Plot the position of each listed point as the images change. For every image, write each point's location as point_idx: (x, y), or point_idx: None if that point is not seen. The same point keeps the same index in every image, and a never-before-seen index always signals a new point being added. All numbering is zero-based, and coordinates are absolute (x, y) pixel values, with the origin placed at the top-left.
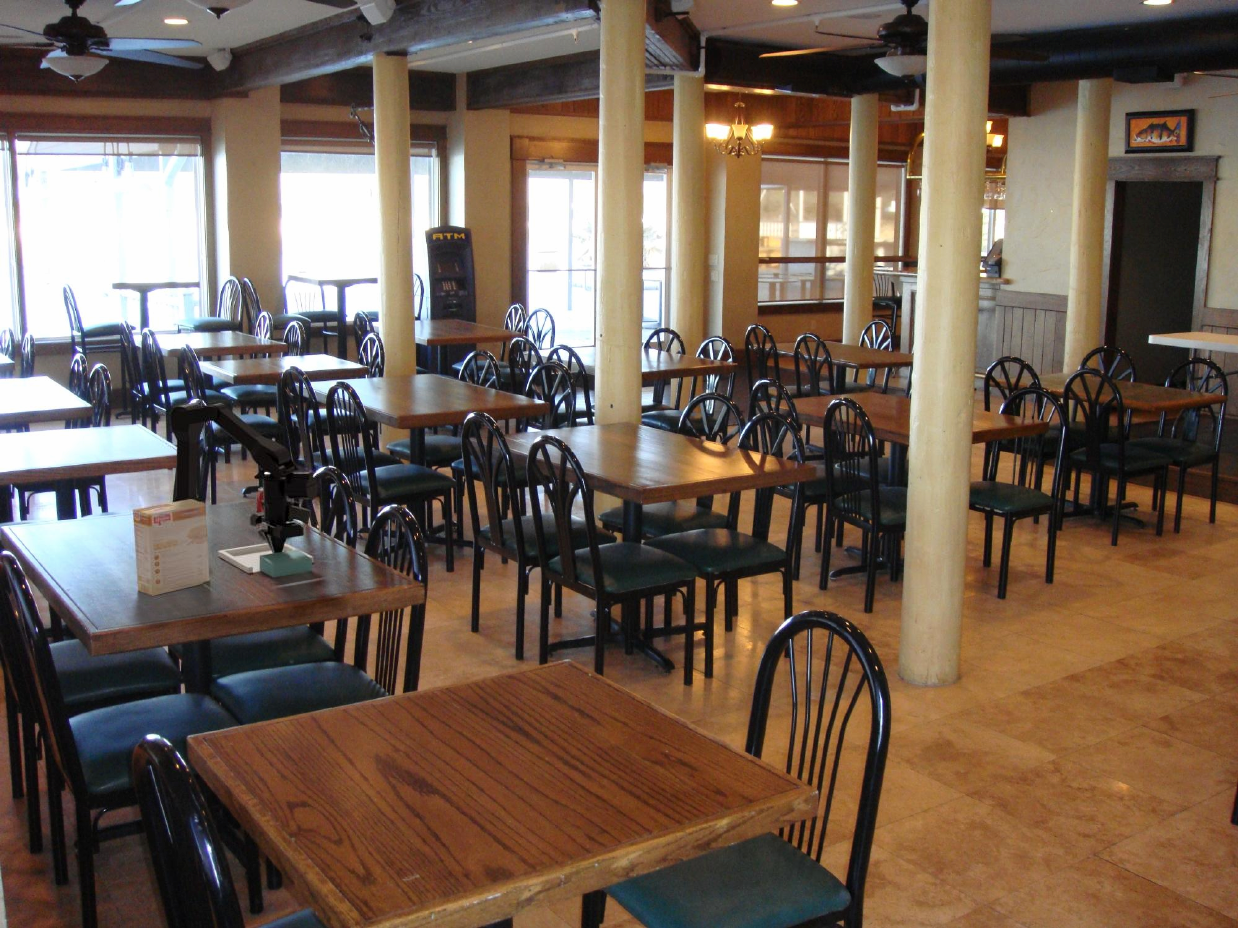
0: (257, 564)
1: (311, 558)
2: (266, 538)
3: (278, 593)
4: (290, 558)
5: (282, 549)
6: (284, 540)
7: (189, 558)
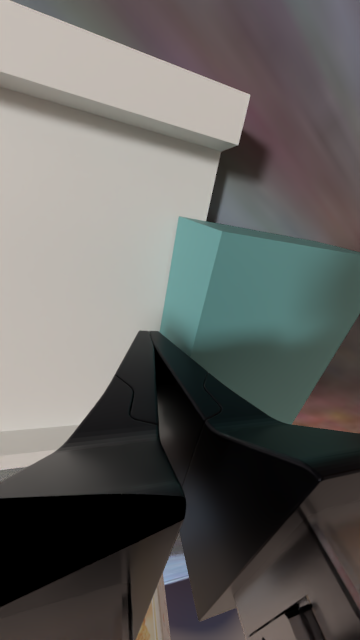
0: (60, 378)
1: (239, 118)
2: (130, 533)
3: (341, 405)
4: (295, 350)
5: (188, 360)
6: (249, 416)
7: (166, 625)
